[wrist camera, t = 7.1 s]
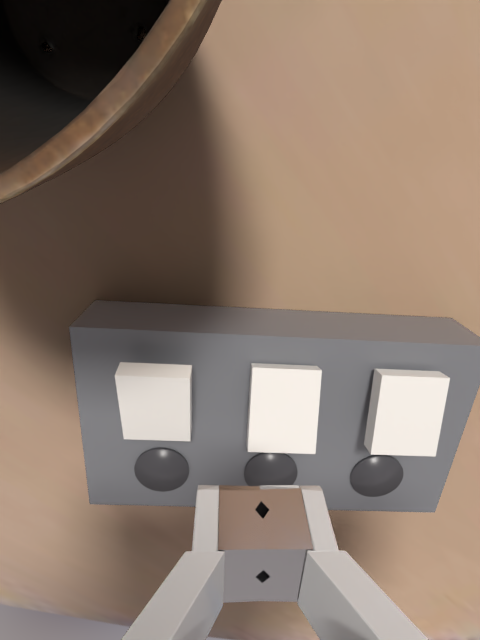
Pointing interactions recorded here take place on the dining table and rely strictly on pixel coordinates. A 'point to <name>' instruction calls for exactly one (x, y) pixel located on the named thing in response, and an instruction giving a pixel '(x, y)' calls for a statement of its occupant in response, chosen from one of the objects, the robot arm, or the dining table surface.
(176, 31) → the plant pot
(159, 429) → the rocker
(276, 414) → the rocker
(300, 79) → the dining table surface
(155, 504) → the switch panel
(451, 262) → the dining table surface
